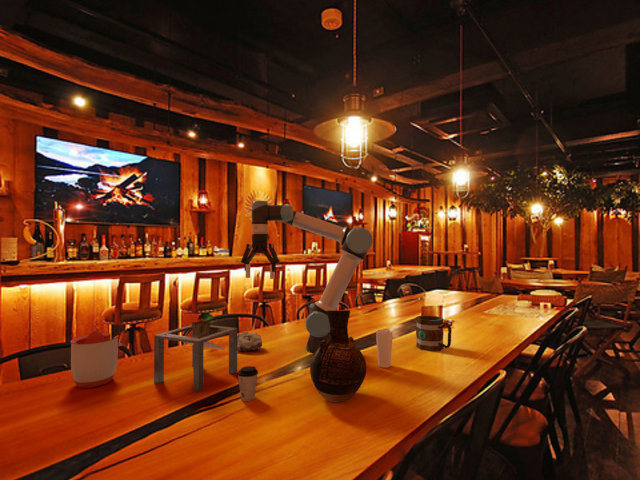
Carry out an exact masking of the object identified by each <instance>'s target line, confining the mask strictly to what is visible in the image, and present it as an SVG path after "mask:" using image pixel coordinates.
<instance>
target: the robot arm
mask: <svg viewBox="0 0 640 480" xmlns="http://www.w3.org/2000/svg"><path fill="white" fill-rule="evenodd" d="M269 221H270V222H281V223H283V224H287V225H289V226H293V227H296V228H298V229H301V230H303V231H307V232H309V233H313V234H315V235H318V236H321V237H324V238H327V239H330V240H333V241H335V242H338V243H339V245H341V246H342V247H341V249H340V252H341V256H340V258H339V260H338V262H337V264H336V266H335V268H334V270H333V272H332V274H331V277H330V278H329V280H328V282H327V284H326V286H325V288H324V291H323V293H322V295H321V297H320V299H319V300H317V301H315V302H314V303H310V305H309V314H308V315H307V316H306V319H305V328H306V330H307V332H308V333H309V336H308V339H307V342H306V349H305V350H306V351H307V352H309V353H314V354H315V353H316V351H317V350H318V349H319V348H320V344H321V342H322V340H325V341H327V340H328V339H329V338H330V324H329V319H328V316H327V311H329V310H332V311H334V310H337V308H338V305H339V303H340V302H341V300H342V297H343V295H344V293H345V292H346V290H347V287H348V285H349V283H350V282H351V279H352V277H353V275H354V274H355V271H356V269H357V267H358V266H359V263H360V262H363V261H365V258H366V256H367V254H368V252H369V250H370V249H371V247H373V246H372V245H373V244H374V243H373V241H374V239H373V235H372V233H371V232H370V231H369V230H368V229H366V228H365V227H361V226H356V227H353V228H352V227H349V226H345V227H343V226H341V225H337V224H334V223H331V222H328V221H325V220H323V219H320V218H317V217H314V216H310V215H308V214H305V213H302V212H299V211H296V210H294V208H293V205H291V204H278V205H277V204H276V205H275V204H274V205H271V204H270V205H269V203H268V201H266V200H254V201H253V202H252V204H251V233H252V234H251V241H252V243H246V247H245V250H244V253H243V255H242V258H241V260H240V263H241V264H244V265H243V266H244V271H245V279H251V264H250V262H251V261H252V260H253V258H254V257H255V255H256V254H263V255H264V256H265V257H266V259H267V260H268V262H270V264H269V280H274V279H275V272H276V271H277V269H276V268H277V267H276V266H277V264H280V259H279V257H278V254H277V253H276V251H275V250H276V249H275V247H274V246H275V245H274V243H268V241H269V235H268V233H269V227H268V226H269Z"/></svg>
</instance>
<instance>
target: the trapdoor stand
mask: <svg viewBox="0 0 640 480" xmlns="http://www.w3.org/2000/svg"><path fill="white" fill-rule="evenodd" d="M189 330H190V331H191V330H192V324H190V325H188V326H187V325H186V326H183V327H180V328H176V329H172V330H169V331H165V332H162V333H157V334H154V337H153V339H154V341H153V342H154V343H153V345H154V346H153V348H154V349H153V351H154V352H153V353H154V354H153V358H154V359H153V362H154V363H153V383H154V384H158V385H159V384H162V383H164V382H165V370H164V369H165V341H166V340H168V341H174V342H181V343H184V342H187V343H186V344H188V343H194V345H192V346H191V347H192V349H191V350H192V354H191V355H192V357H191V358H192V359H191V360H192V361H191V363H192V365H191V366H192V367H193V370H192V371H193V376H192V377H193V378H192V379H193V382H192V383H193V392H196V393H200V392H202V391H204V347H203V345H204V342H206V341H208V342H210V341H212V340H215V339H218V338H220V337H223V336H227V335H228V374H231V375H232V374H233V375H234V374H237V373H238V350H237V336H238V328H237V327H231V326H221V325H213V324H212V325H211V324H210V330H214V331H218V332H215V333H212V334H208V336H206V337H203V338H200V339H193V338H186V337H178V336H171V335H177V334H179V333H182V332H183V333H184V332H187V331H189ZM191 333H192V336H191V337H194V335H193V331H191ZM167 334H171V335H167ZM194 338H196V337H194Z"/></svg>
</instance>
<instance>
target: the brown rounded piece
mask: <svg viewBox="0 0 640 480" xmlns="http://www.w3.org/2000/svg"><path fill="white" fill-rule="evenodd" d="M211 323H212V321H211V320H210V321H208V320H207V321H206V322H205V320H199V321H198V320H197V321H192V322H191V325H192V329H191V330H192V331H193V335H194V337H196V338H199V339H200V338H203V337H206V336H209V335H210V331H211V329H210V325H211ZM192 331H191V332H192Z"/></svg>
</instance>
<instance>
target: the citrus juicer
mask: <svg viewBox="0 0 640 480" xmlns="http://www.w3.org/2000/svg"><path fill="white" fill-rule="evenodd" d="M111 337H112V335H111V333H110V332H108V333H106V332H103V333H102V332H100V331H99V330H97V329H94V330H93V331H92V332H91V333H90V334H86V335H81V336H77V337H74V338H72V339H71V340H70V369H71V370H70V371H71V375H72V379H73V382H74V383H75V385H76V387H78V388H87V389H91V388H95V387H98V386H102V385H105V384H107V383H110V382H111V381H112V380H113V378H114V376H115V373H116V370H117V367H118V366H117V365H118V360H119V359H118V358H119V357H118V355H119V354H118V353H119V347H122V346H123V343H121V342H119V337H120V336H119V334H118V335H116V336H114V337H113V338H111Z"/></svg>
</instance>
